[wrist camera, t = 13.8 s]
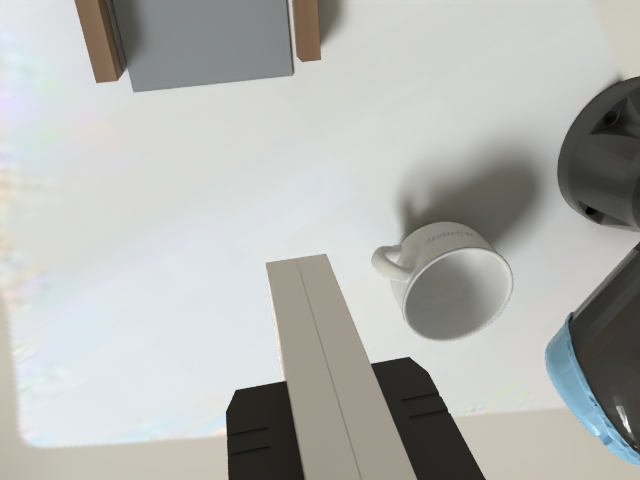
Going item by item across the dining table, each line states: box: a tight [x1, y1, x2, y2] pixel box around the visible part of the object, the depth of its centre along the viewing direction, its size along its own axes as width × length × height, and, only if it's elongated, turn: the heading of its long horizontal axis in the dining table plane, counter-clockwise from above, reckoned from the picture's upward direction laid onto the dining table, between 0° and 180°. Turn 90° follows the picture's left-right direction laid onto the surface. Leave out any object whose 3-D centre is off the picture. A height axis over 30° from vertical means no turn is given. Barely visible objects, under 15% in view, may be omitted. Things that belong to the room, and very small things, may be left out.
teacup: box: [371, 222, 513, 342], centre depth 51 cm, size 14×11×8 cm
